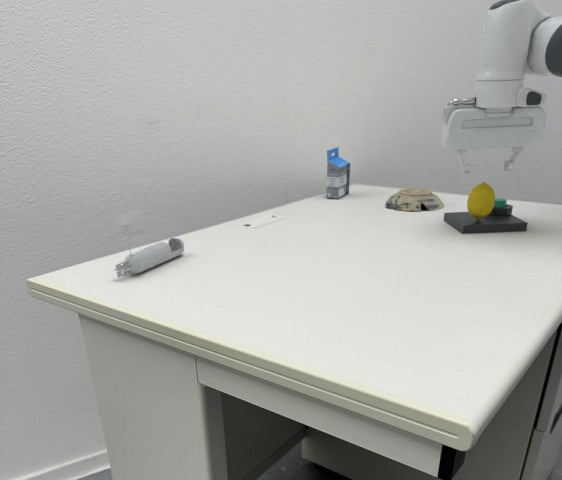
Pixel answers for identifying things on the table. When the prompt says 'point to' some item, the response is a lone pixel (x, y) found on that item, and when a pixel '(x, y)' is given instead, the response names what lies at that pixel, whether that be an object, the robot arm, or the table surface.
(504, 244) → the table surface
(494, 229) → the dark grey button base
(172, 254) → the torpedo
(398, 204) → the decorative bowl
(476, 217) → the lemon
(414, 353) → the table surface
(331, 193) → the ink cartridge box
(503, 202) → the scale button
